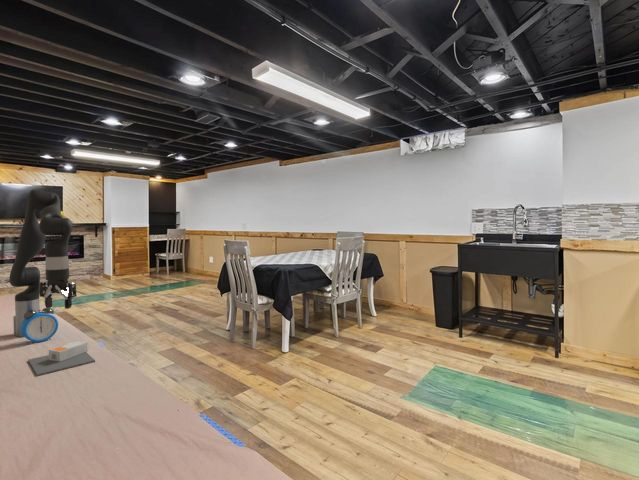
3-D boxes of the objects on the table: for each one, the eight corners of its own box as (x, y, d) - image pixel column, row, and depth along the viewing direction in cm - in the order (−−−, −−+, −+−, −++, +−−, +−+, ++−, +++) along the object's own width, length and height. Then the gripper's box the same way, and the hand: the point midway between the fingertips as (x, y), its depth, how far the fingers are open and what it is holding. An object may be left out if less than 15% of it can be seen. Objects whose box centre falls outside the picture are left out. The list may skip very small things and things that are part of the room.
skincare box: (48, 349, 137) (77, 340, 149) (48, 360, 137) (77, 350, 149) (59, 351, 135) (88, 341, 147) (60, 362, 136) (88, 351, 147)
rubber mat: (28, 360, 138) (28, 359, 138) (81, 349, 151) (81, 347, 151) (37, 376, 125) (37, 374, 125) (95, 361, 138) (95, 360, 138)
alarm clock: (23, 346, 155) (22, 312, 154) (20, 343, 158) (19, 310, 158) (59, 338, 165) (58, 307, 165) (54, 335, 169) (53, 305, 168)
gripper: (81, 267, 141) (82, 306, 142) (50, 266, 143) (51, 304, 144) (65, 269, 133) (66, 311, 134) (32, 268, 135) (34, 309, 136)
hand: (58, 307), depth 139 cm, fingers open, 8 cm apart
